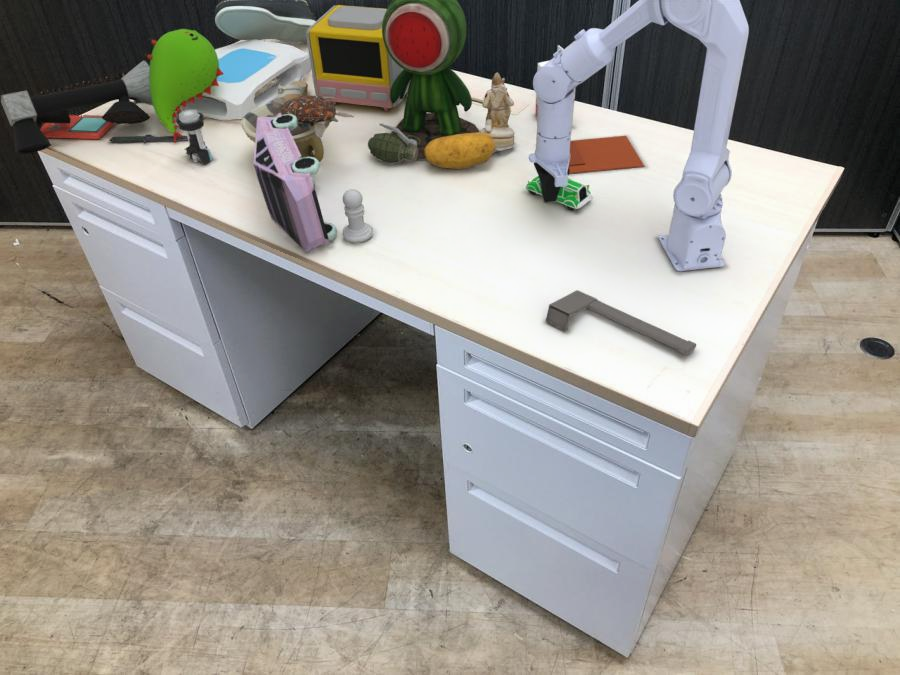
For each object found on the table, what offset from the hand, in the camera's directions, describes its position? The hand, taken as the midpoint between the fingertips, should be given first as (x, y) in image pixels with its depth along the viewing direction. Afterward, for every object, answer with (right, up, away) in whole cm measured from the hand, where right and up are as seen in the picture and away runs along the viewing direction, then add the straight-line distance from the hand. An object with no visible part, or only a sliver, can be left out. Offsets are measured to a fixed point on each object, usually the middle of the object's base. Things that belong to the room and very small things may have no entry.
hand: (549, 200), depth 137 cm
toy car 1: (-41, +4, -3) cm, 41 cm away
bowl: (-49, +11, +17) cm, 53 cm away
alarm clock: (-36, +30, +37) cm, 59 cm away
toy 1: (-81, +29, +22) cm, 89 cm away
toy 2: (-38, +14, +9) cm, 41 cm away
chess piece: (-34, -7, -3) cm, 35 cm away
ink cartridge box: (+4, +21, +25) cm, 33 cm away
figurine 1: (-21, +17, +21) cm, 34 cm away
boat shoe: (-61, +50, +49) cm, 92 cm away
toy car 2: (+2, +1, +4) cm, 4 cm away
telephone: (-83, +29, +31) cm, 93 cm away
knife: (-80, +16, +23) cm, 85 cm away
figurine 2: (-8, +14, +18) cm, 24 cm away
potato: (-15, +9, +13) cm, 22 cm away
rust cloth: (+10, +11, +14) cm, 21 cm away
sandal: (-54, +27, +35) cm, 70 cm away
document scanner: (-66, +32, +41) cm, 84 cm away
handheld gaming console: (-106, +22, +30) cm, 113 cm away
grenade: (-34, +15, +14) cm, 39 cm away
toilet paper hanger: (+7, -25, -24) cm, 35 cm away
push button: (-69, +12, +18) cm, 72 cm away
